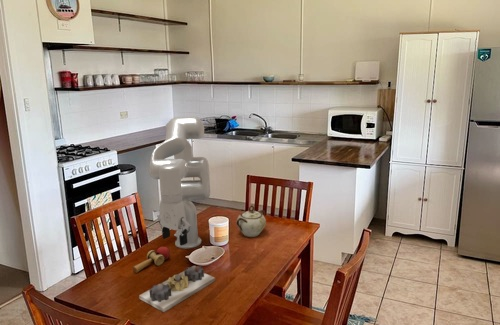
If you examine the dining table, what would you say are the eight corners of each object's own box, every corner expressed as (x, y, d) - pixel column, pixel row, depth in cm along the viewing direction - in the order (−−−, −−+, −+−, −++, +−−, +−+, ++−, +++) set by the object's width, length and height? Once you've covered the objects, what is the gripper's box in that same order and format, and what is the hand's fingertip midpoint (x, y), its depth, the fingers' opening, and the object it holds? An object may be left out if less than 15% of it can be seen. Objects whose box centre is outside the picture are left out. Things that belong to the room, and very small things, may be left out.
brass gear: (164, 287, 152) (164, 280, 152) (179, 279, 158) (178, 272, 157) (177, 293, 148) (176, 286, 147) (192, 284, 153) (191, 277, 153)
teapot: (254, 224, 215) (253, 198, 212) (275, 231, 205) (275, 204, 201) (227, 235, 202) (226, 207, 198) (248, 244, 191) (247, 214, 188)
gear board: (139, 298, 148) (137, 283, 146) (190, 270, 167) (189, 256, 166) (163, 312, 139) (162, 295, 138) (215, 280, 159) (214, 266, 157)
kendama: (143, 278, 165) (175, 257, 178) (138, 265, 163) (171, 244, 176) (132, 276, 170) (164, 255, 183) (127, 263, 168) (160, 242, 181)
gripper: (148, 196, 147) (152, 238, 151) (179, 204, 136) (183, 250, 140) (164, 190, 153) (167, 232, 157) (195, 199, 142) (198, 243, 146)
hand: (175, 240), depth 149 cm, fingers open, 9 cm apart
